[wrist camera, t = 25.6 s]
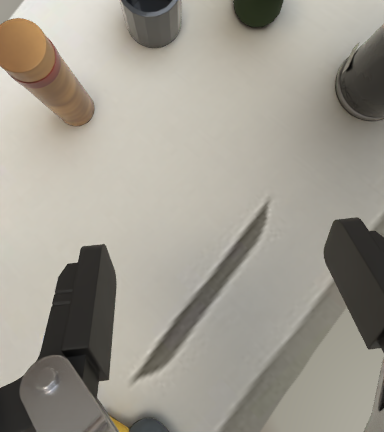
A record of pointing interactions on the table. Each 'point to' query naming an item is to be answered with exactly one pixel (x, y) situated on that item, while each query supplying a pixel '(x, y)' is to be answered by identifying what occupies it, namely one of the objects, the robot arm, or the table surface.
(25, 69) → the red-banded tan cylinder
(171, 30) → the cup
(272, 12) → the character mug
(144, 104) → the table surface
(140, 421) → the wand massager
